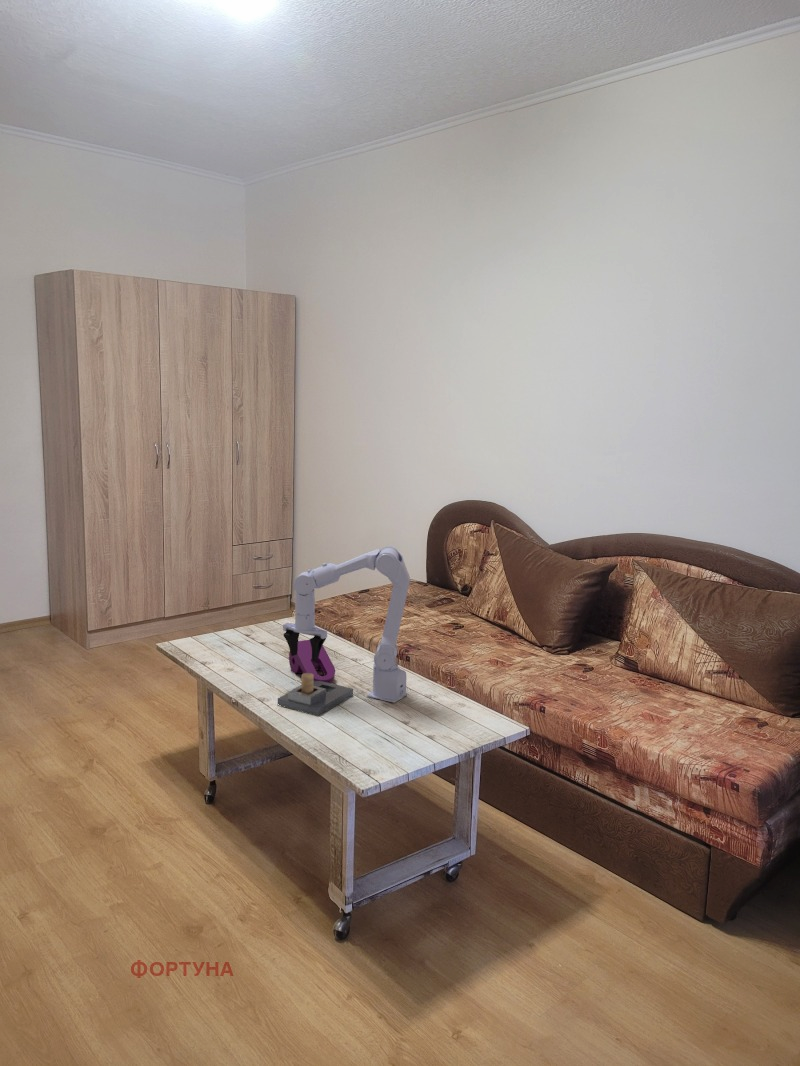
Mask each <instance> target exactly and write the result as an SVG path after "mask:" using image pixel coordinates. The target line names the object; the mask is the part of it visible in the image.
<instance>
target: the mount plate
mask: <svg viewBox="0 0 800 1066" xmlns="http://www.w3.org/2000/svg"><path fill="white" fill-rule="evenodd" d="M352 696H354V688H352V687H348V686H343V685H339V684H335V683H332V682H331V683H327V682H323V681H319V680H314V686H313V693H311V694H310V695H309V694H305V693H301V685H298V686H296V687H295V688H293V689H290V690H289V691H288V692H287V693H285V694H284V695H281V696H279V697H278V698H277V705H278V704H279V705H281V706H280V707H283V706H285V707H284V708H287V707H288V708H287V709H290V708H292V709H291V710H294V709H296V710H295V711H298V710H299V711H298V712H302V711H303V712H302V713H305V712H307V713H306V714H309V713H310V714H311V715H313V714H314V715H313V716H321V715H323V714H325V713H326V712H327V711H330V710H331V709H332V708H334V707H336V706H337V705H339V704H340V703H342V702H344V701H346V700H347V699H349V698H351V697H352ZM279 705H278V706H279ZM322 713H323V714H322Z"/></svg>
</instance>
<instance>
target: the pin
mask: <svg viewBox="0 0 800 1066" xmlns="http://www.w3.org/2000/svg"><path fill="white" fill-rule="evenodd" d="M313 686H314V675H313V674H312V673H302V674H301V693H305V694H309V695H310V694H311V693H313Z"/></svg>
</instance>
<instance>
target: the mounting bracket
mask: <svg viewBox="0 0 800 1066" xmlns="http://www.w3.org/2000/svg"><path fill="white" fill-rule="evenodd" d="M288 661H289V666H290V667H289V668H290V670H291V672H292V673H293V674H300V673H302V674H304V673H312V674H313V675H314V680H319V681H323V682H327V683H332V682H333V680H334V679H335V675H336V668H335V665H334V664H333V662H332V660H331V658H330V656H329V654H328V653H327V651H326V649H325V647H324V644H323V645H322V647H321V650H320V653H319V657H318V659H317V660H315V661H312V647H311V643H310V639H304V640H298V651H297V655H294V656H291V652H290V651H289V652H288ZM317 671H322V673H323V674H324V675H323V676H322V675H319V674H318V672H317Z"/></svg>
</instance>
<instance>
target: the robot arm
mask: <svg viewBox="0 0 800 1066" xmlns="http://www.w3.org/2000/svg"><path fill="white" fill-rule="evenodd" d="M321 565H322V566H319V567H316V568H314V569H312V568H309V569H307V571H303V572H301V573H300V574H299V575H298V576H297V577H296V578H295V579H294V582H293V589H294V590H295V599H294V600H295V601H294V603H295V604H294V607H295V608H294V615H295V616H294V623H292V622H291V623H290V622H286V623H283V624H282V627H283V628H282V630H283V631H284V633H283V638H284V639H285V640H286V643H287V645H288V648H289V652H291V656H294V655H297V651H298V641H299V638H300V634H303V635H307V636H311V638H309V640H310V643H311V647H312V661H315V660H317V659H318V657H319V653H320V650H321V647H322V645H323V646H324V643H325V642H326V640H327V638H328V631H327V630H325V629H322V628H320V627H317V626H316V624H315V623H316V621H315V619H316V618H315V617H316V615H315V614H316V613H315V611H316V608H315V606H316V597H315V589H318V590H319V589H321V588H324V587H326V586H329V585H331V584H335V583H337V582H339V580H340V578H341V576H343V575H344V576H345V575H347V574H349V573H352V572H355V571H359V570H362V569H369V570H371V571H375V570H376V571H378V572H379V573H380V574H382V575H384V576H385V577H386V578H388V580H389V582H391V584H392V589H391V594H390V597H389V604H388V607H387V608H388V609H387V613H386V618H385V622H384V627H383V631H382V637H381V641H380V642H379V643H378V645H377V646H376V651H375V654H374V657H373V671H372V673H373V675H372V691H371V692H369V693H367V694H366V696H367V697H369V698H373V699H377V700H380V701H381V700H382V701H386V702H389V703H397V702H398V701H400V700H402V699H403V698H404V697H405V696H407V695H408V692H407V672H406V671H405V670H404V669H401V668H400V667H399V664H398V663H397V662H398V661H396V658H397V655H398V651H399V649H398V646H397V643H398V642H397V641H398V637H399V633H400V628H401V623H402V619H403V614H404V610H405V606H406V605H405V604H406V600H407V596H408V591H409V587H410V581H411V577H410V574H409V572H408V568H407V566H406V564H405V561H404V557H403V555H402V554H401V553H400V552H399V551H398V549H397V548H395V547H393V546H385V547H382V548H377V549H373V550H372V551H369V552H366V553H363V554H361V555H358V556H356V557H353V558H351V559H349V560H347V561H344V562H341V563H339V564H337V563H333V562H329V563H328V562H324V563H322V564H321Z"/></svg>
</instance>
